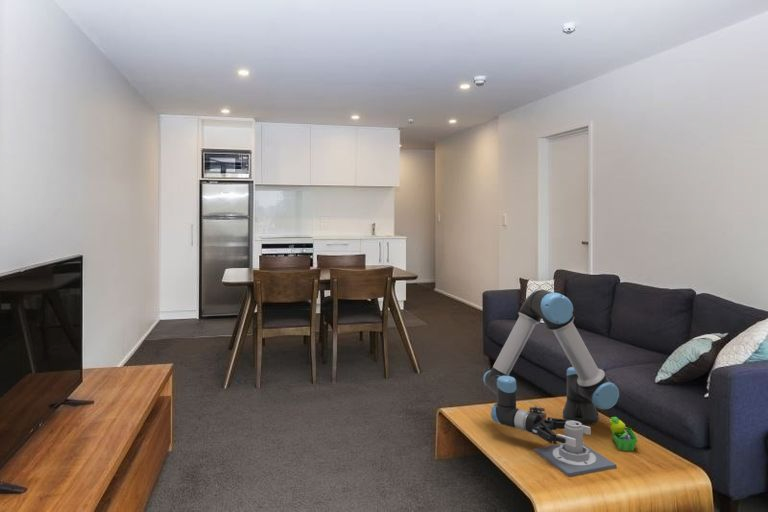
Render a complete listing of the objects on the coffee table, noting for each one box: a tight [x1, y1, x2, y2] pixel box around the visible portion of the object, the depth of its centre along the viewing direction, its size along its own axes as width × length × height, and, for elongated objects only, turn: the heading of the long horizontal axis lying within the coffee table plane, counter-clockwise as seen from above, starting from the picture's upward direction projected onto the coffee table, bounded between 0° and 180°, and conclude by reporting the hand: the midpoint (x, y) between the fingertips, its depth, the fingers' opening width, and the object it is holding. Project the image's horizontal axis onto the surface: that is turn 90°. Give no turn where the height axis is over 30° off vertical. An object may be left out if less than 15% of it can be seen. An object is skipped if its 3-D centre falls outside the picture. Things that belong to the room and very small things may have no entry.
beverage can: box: [563, 420, 584, 454], centre depth 178 cm, size 6×6×12 cm
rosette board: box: [534, 443, 617, 477], centre depth 178 cm, size 20×20×4 cm
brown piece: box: [528, 405, 547, 420], centre depth 205 cm, size 8×3×10 cm, turn 68°
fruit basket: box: [609, 416, 638, 452], centre depth 189 cm, size 11×9×11 cm
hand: (583, 436), depth 176 cm, fingers open, 13 cm apart
